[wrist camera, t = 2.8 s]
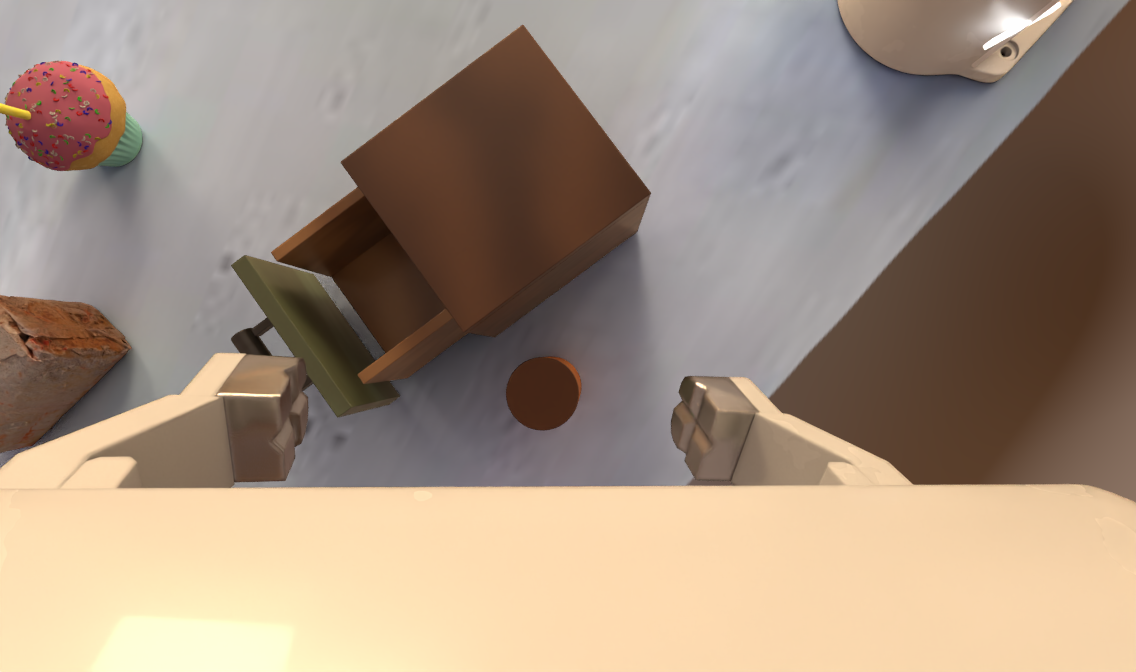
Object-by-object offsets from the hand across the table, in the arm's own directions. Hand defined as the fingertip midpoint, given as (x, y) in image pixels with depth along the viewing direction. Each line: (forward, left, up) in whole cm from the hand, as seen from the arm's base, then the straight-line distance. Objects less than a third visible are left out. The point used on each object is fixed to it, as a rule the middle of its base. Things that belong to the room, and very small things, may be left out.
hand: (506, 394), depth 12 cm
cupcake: (+20, -39, -33) cm, 55 cm away
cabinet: (-4, -12, -33) cm, 35 cm away
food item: (+36, -25, -33) cm, 55 cm away
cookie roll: (+2, +1, -33) cm, 33 cm away
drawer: (+9, -12, -32) cm, 35 cm away
